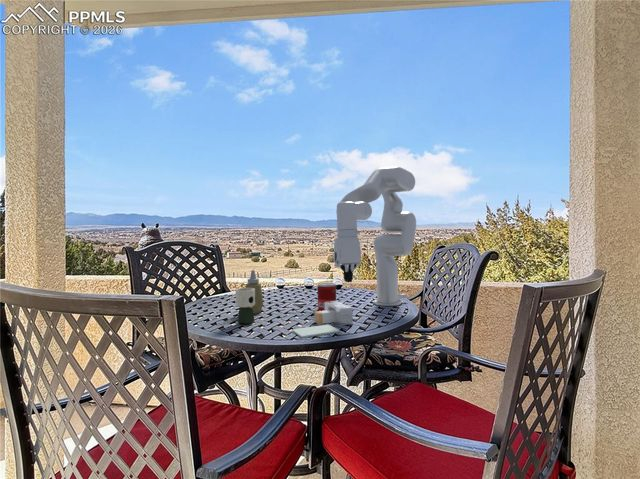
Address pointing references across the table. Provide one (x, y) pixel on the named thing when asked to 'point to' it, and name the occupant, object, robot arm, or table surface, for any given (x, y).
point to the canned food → (326, 294)
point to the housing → (341, 312)
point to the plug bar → (325, 316)
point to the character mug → (245, 304)
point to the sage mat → (315, 331)
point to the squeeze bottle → (256, 292)
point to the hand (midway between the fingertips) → (348, 281)
